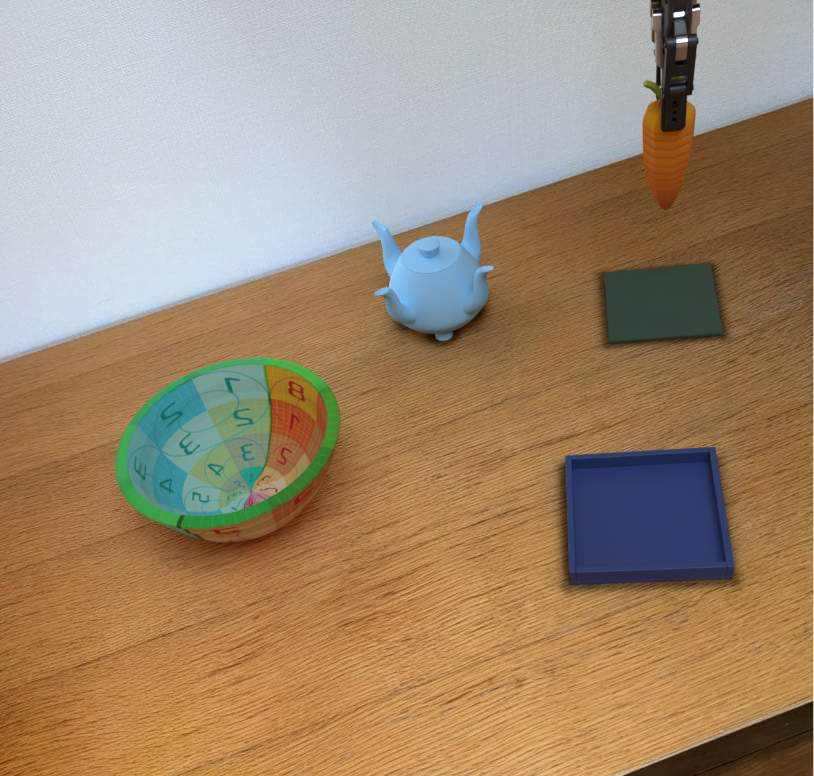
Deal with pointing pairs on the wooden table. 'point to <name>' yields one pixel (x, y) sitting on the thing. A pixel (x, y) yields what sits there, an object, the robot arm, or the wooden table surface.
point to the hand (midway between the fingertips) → (669, 112)
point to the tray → (646, 517)
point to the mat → (661, 304)
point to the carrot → (666, 151)
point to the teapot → (435, 280)
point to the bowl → (230, 449)
